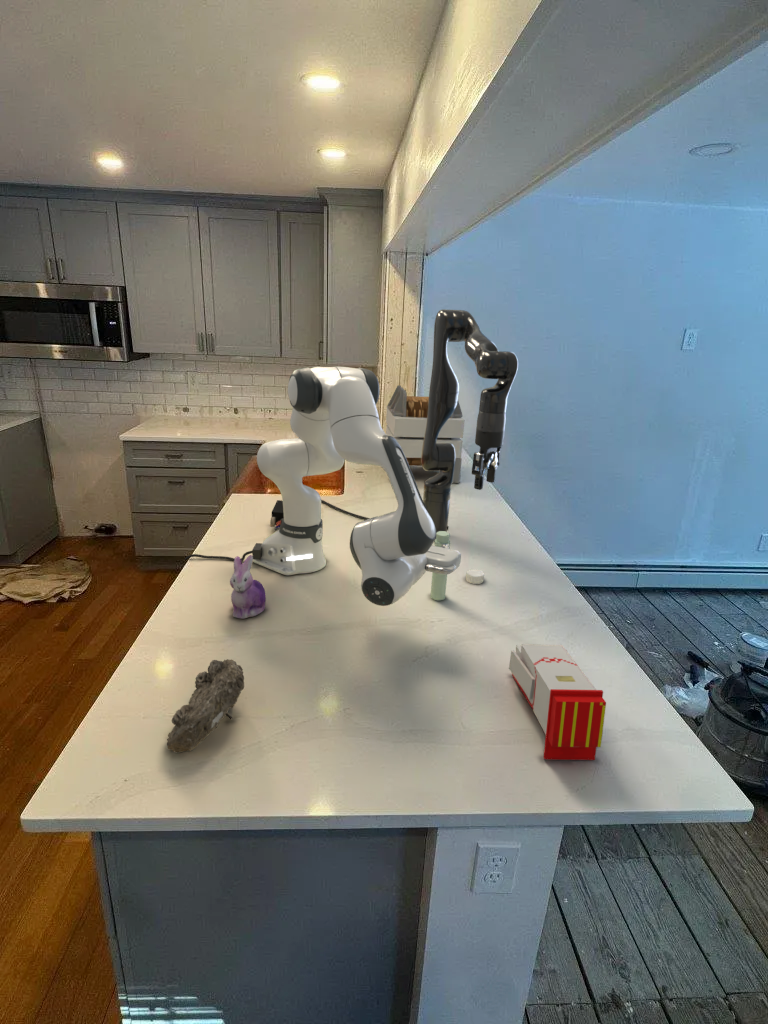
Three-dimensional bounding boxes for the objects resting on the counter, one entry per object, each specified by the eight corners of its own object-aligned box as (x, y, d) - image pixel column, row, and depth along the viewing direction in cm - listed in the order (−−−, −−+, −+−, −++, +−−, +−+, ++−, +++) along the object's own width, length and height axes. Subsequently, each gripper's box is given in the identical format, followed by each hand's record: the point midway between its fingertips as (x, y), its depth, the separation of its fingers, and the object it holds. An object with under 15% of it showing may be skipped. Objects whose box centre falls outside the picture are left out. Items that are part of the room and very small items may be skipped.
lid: (469, 584, 165) (470, 577, 164) (463, 576, 170) (463, 569, 169) (485, 583, 166) (486, 576, 165) (479, 575, 171) (480, 568, 170)
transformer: (382, 463, 289) (386, 382, 275) (445, 464, 293) (451, 384, 279) (390, 482, 257) (394, 392, 243) (460, 483, 261) (468, 394, 247)
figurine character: (289, 537, 196) (294, 517, 209) (288, 517, 193) (294, 498, 206) (269, 536, 196) (276, 516, 209) (268, 517, 192) (275, 498, 206)
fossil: (192, 660, 117) (244, 628, 112) (224, 691, 120) (276, 661, 115) (142, 746, 98) (202, 712, 93) (182, 779, 101) (242, 748, 96)
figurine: (235, 623, 139) (232, 568, 134) (225, 604, 148) (222, 552, 143) (272, 616, 143) (271, 562, 138) (261, 598, 152) (259, 546, 147)
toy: (558, 627, 126) (616, 698, 97) (552, 682, 129) (607, 767, 99) (504, 626, 126) (545, 697, 96) (499, 681, 128) (538, 766, 99)
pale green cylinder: (442, 593, 159) (448, 530, 153) (446, 600, 156) (452, 535, 149) (428, 593, 159) (433, 530, 152) (432, 600, 155) (438, 536, 148)
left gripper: (452, 560, 123) (470, 539, 135) (367, 541, 131) (391, 523, 142) (449, 586, 125) (467, 563, 137) (366, 566, 133) (390, 546, 145)
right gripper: (487, 422, 160) (481, 477, 166) (466, 429, 149) (461, 488, 154) (513, 426, 156) (506, 482, 162) (493, 434, 145) (486, 494, 151)
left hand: (428, 542), depth 140 cm, fingers open, 8 cm apart
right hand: (484, 485), depth 158 cm, fingers open, 8 cm apart
